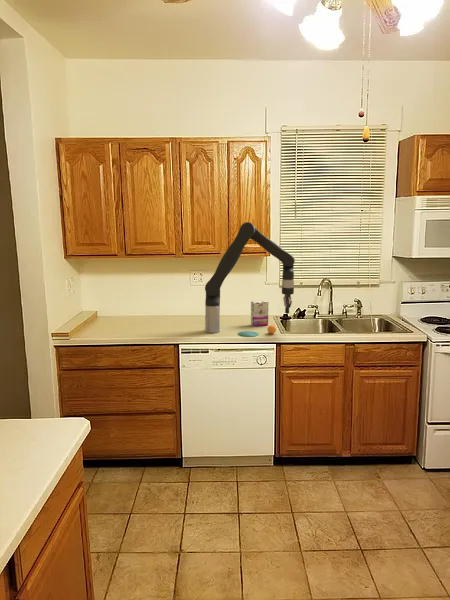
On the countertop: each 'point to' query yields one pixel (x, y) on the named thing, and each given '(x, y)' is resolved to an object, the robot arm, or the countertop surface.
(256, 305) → the candy bar box
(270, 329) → the ball
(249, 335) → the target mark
